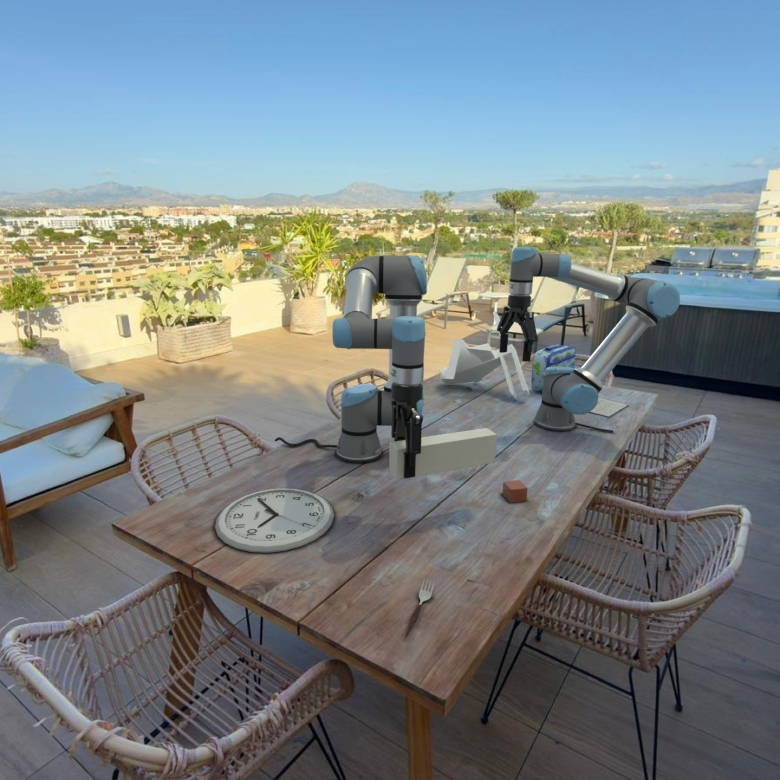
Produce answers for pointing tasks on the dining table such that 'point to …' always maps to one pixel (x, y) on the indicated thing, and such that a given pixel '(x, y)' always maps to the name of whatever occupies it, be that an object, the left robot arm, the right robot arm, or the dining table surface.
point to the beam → (446, 452)
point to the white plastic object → (480, 363)
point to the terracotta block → (514, 491)
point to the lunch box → (550, 362)
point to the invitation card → (607, 407)
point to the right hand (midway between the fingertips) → (514, 356)
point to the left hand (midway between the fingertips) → (404, 471)
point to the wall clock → (274, 520)
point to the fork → (423, 597)
